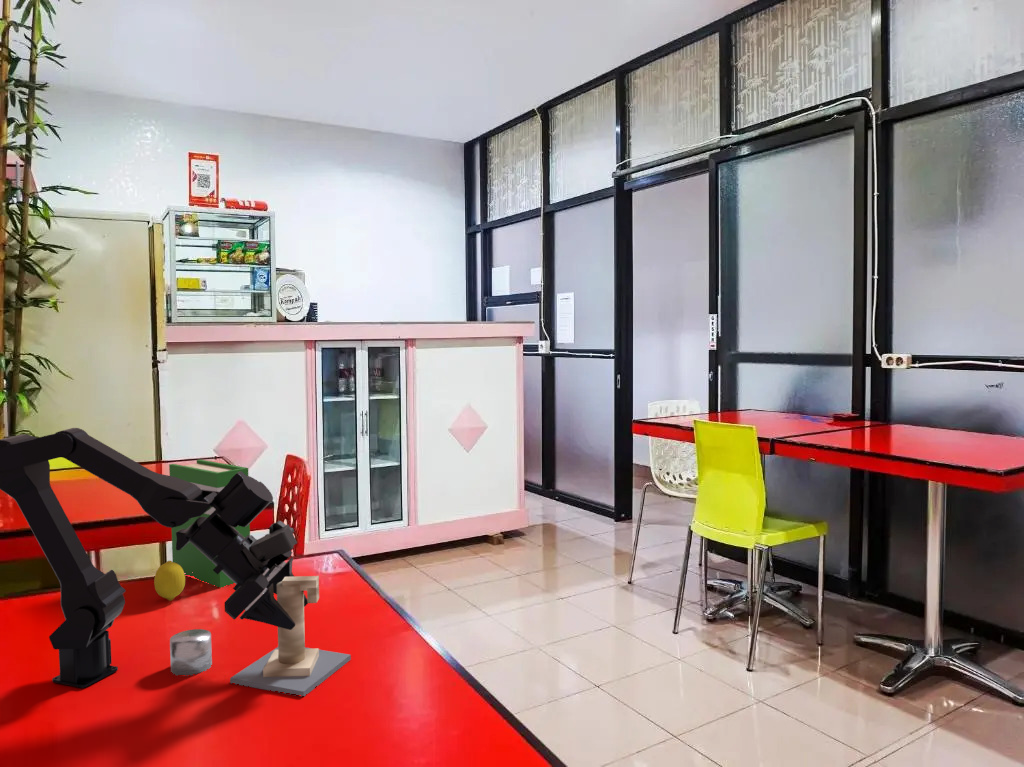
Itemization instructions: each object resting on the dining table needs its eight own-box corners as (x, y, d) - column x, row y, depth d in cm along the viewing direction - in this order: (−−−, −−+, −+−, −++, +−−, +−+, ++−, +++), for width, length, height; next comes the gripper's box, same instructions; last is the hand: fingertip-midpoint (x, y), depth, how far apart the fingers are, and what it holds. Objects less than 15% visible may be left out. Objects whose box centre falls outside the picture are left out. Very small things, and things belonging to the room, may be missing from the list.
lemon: (191, 595, 150) (189, 556, 149) (176, 606, 144) (174, 565, 144) (165, 595, 150) (163, 556, 150) (149, 605, 145) (147, 564, 144)
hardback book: (173, 572, 165) (169, 464, 163) (203, 563, 171) (200, 459, 169) (220, 588, 154) (216, 473, 153) (251, 578, 160) (248, 467, 159)
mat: (303, 696, 109) (303, 691, 109) (230, 683, 113) (230, 678, 113) (350, 659, 121) (350, 654, 121) (282, 648, 125) (282, 643, 125)
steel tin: (193, 678, 115) (192, 647, 114) (162, 672, 117) (161, 641, 116) (220, 662, 120) (219, 632, 120) (190, 656, 122) (189, 627, 122)
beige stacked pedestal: (263, 677, 113) (260, 586, 112) (275, 656, 120) (272, 571, 119) (314, 675, 114) (312, 585, 113) (323, 655, 121) (321, 570, 120)
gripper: (245, 526, 106) (325, 601, 107) (278, 496, 124) (346, 560, 126) (189, 582, 106) (270, 655, 107) (231, 544, 124) (299, 607, 126)
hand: (300, 615), depth 117 cm, fingers open, 9 cm apart
